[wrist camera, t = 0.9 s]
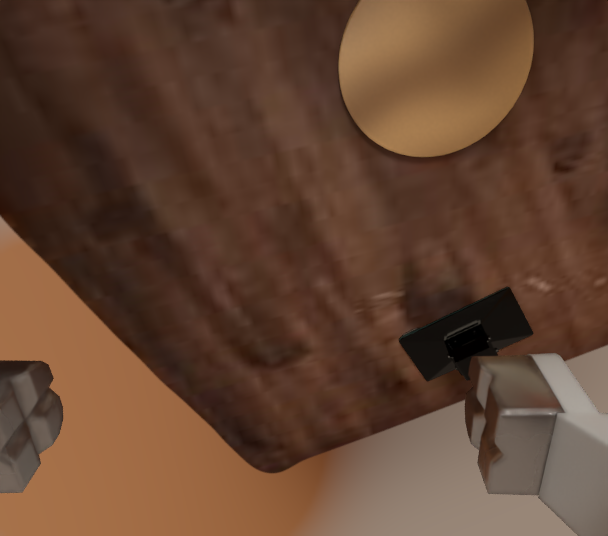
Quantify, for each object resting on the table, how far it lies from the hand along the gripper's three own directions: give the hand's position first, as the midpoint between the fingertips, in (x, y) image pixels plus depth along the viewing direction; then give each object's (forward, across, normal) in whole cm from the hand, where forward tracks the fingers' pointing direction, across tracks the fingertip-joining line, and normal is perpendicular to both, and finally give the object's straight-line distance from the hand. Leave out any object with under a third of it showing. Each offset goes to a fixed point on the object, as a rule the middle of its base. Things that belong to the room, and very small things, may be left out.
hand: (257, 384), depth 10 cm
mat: (+36, -10, -2) cm, 37 cm away
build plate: (+39, -15, +25) cm, 49 cm away
